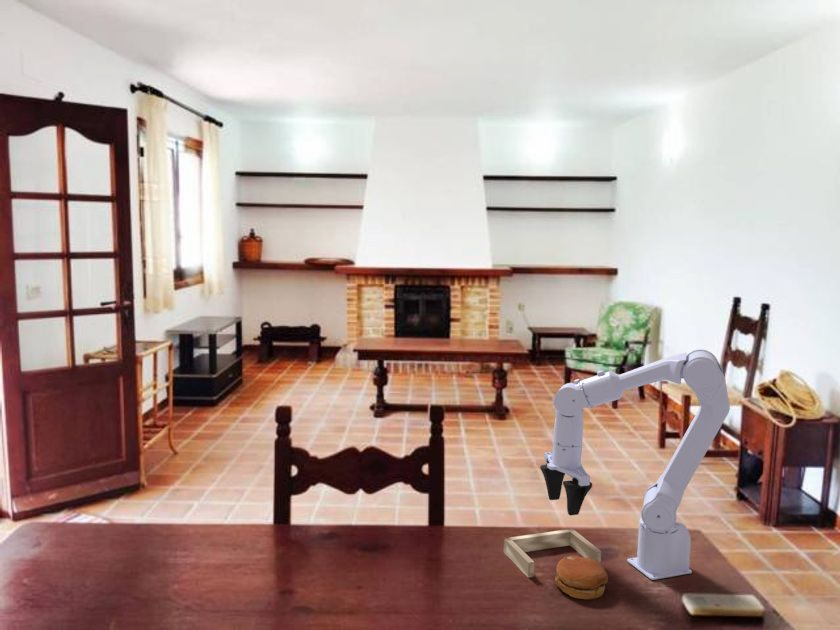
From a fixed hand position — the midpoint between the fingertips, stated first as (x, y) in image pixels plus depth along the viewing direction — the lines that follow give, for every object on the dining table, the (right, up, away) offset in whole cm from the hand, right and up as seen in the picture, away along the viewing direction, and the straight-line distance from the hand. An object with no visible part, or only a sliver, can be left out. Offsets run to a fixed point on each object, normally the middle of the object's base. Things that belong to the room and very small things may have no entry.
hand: (563, 506), depth 138 cm
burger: (0, -12, -13) cm, 17 cm away
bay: (-3, -10, -3) cm, 11 cm away
